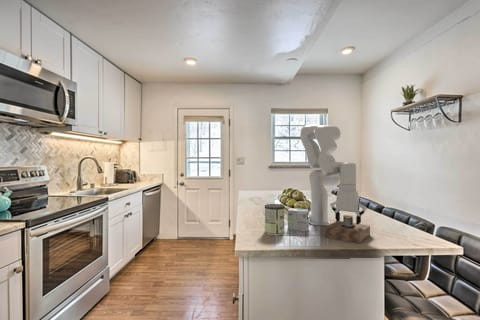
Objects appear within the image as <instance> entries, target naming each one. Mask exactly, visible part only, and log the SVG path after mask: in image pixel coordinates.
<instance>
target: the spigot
mask: <svg viewBox="0 0 480 320" xmlns="http://www.w3.org/2000/svg"><path fill="white" fill-rule="evenodd" d="M342 217H343V221H342V222H343V227H346V228H353V223H354V216H353V215H350V214H344V215H342Z"/></svg>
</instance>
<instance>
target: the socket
mask: <svg viewBox="0 0 480 320" xmlns="http://www.w3.org/2000/svg"><path fill="white" fill-rule="evenodd" d="M324 227H325V228H324V229H325V232H324V233H325V238H330V239H335V240H339V241H345V242H350V243H356V244H361V243H363V242H364V241H365V240H366V239H368V238H369V237H371V225H368V224H362V223H360V224H358V225H357V224H356V222H355V223H354V222H353V228H346V227H343V221H341V220H340V221H336V220H335V221H334V222H331V224H330V225H325V226H324Z"/></svg>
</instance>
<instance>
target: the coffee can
mask: <svg viewBox="0 0 480 320" xmlns="http://www.w3.org/2000/svg"><path fill="white" fill-rule="evenodd" d="M264 233H265V234H266V235H270V236H282V235H285V233H286V232H285V205H284V204H280V203H279V204H278V203H269V204H265V205H264Z"/></svg>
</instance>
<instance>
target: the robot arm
mask: <svg viewBox="0 0 480 320" xmlns="http://www.w3.org/2000/svg"><path fill="white" fill-rule="evenodd" d="M341 135H342V134H341V130H340V128H339V127H338V126H336V125H326V124H325V125H321V124H320V125H318V124H310V125H309V124H308V125H305V126H303V127H302V128H301V129H300V141H301V143H302V145H303V149H305V154H306V159H307V162H308V166H309V168H310V169H313V170H312V171H311V172H310V173H309V177H308V178H309V179H308V180H309V184H310V209H311V210H310V212H311V213H310V214H309V225H313V226H322V227H323V226H324V227H326V226H328V225H330V224H332V222H331V221H330V220H329V218H328V217H329V193H328V191H327V189H326V187H330V186H332V187H333V186H336V187H337V188H338V190H337V193H336V199H335V201H334V202H331V203H330V207H331V210H332V211H333V212H334V215H335V222H336V221H341V213H340V211H341V212H350V213H355V214H356V218H355V220H356V221H355V223H356V224H357V225H358V224H362V223H361V222H362V215H363V214H365V212H366V211H367V209H368V207H367V206H365V205H364V204H362V203H360V197H359V192H358V190H357V165H356V163H354V162H345V161H336V159H335V157H334V155H332V153H334V152H335V151H336V149H337V148H338V145H337V144H338V143H337V142H336V141H338V140H339V139H340V138H341ZM315 140H316V141H317V142H316V141H315ZM360 208H362V209H361V210H360Z"/></svg>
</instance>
